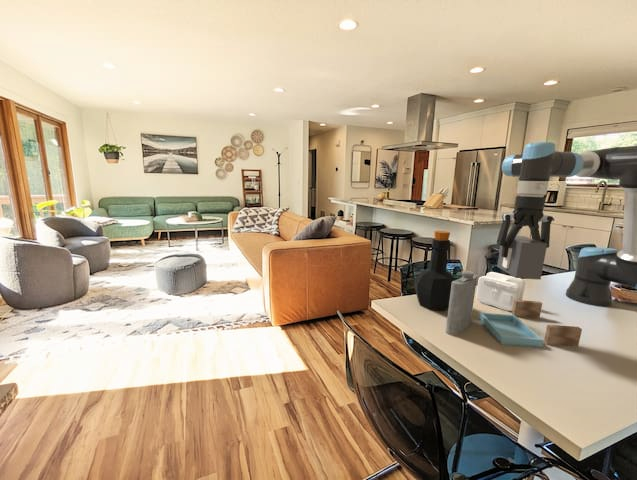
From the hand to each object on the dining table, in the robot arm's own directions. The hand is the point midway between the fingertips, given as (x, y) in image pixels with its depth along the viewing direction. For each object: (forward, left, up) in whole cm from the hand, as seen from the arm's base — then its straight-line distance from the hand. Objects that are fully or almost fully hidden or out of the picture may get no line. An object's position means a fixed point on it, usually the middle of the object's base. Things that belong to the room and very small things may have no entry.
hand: (518, 267), depth 96 cm
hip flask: (+15, -1, -23) cm, 27 cm away
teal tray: (0, 0, -22) cm, 22 cm away
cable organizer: (-8, -24, -23) cm, 34 cm away
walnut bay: (-13, -4, -22) cm, 26 cm away
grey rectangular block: (0, 0, -2) cm, 2 cm away
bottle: (+19, -19, -23) cm, 35 cm away
